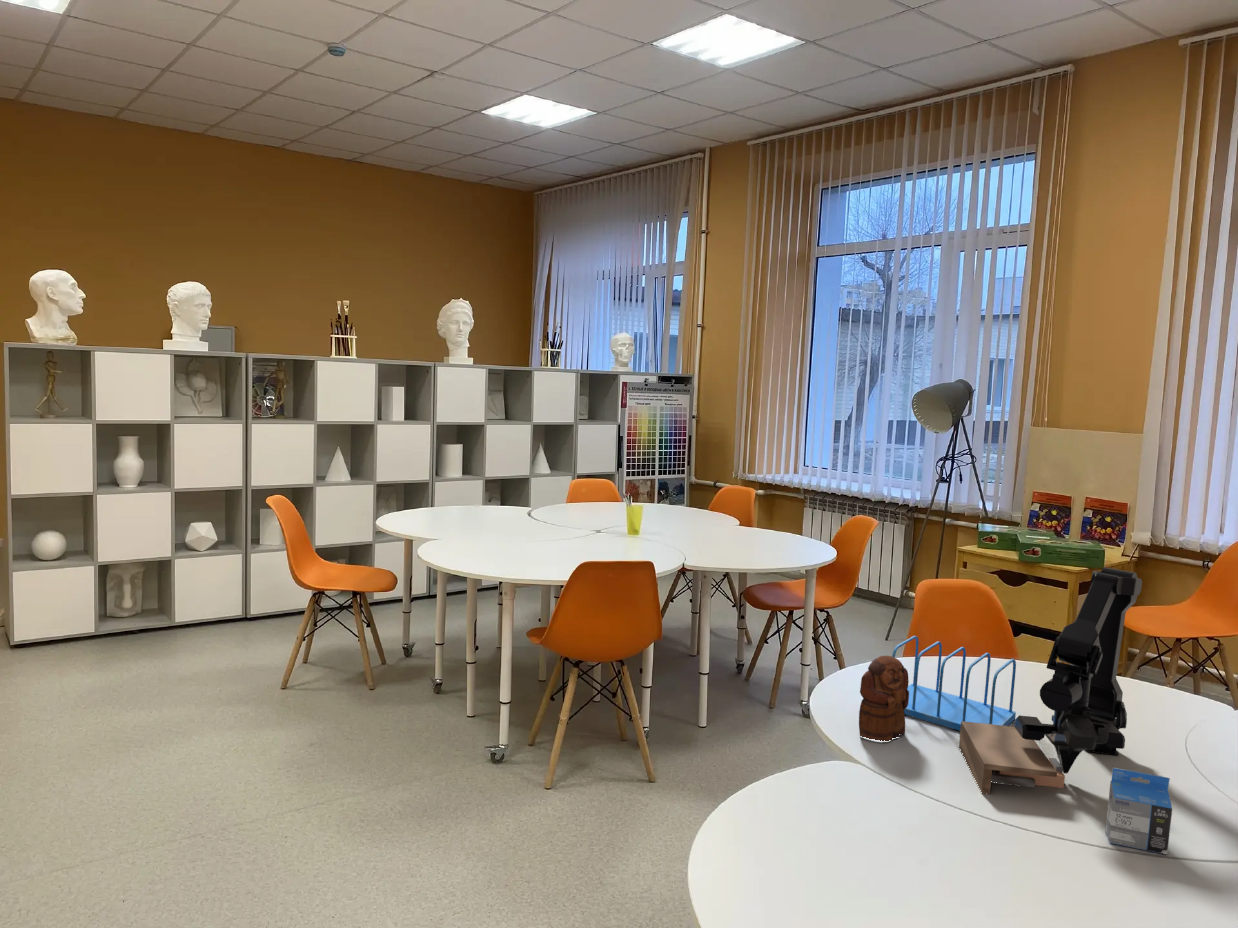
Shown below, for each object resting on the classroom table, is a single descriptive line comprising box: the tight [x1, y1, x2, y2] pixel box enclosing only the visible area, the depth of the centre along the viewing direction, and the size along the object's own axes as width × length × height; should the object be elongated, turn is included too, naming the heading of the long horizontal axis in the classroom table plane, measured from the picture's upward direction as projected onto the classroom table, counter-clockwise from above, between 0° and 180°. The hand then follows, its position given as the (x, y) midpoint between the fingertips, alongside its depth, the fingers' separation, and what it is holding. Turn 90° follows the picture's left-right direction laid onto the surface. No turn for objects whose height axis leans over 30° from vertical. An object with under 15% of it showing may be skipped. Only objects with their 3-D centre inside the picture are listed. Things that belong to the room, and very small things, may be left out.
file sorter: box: [891, 635, 1017, 732], centre depth 199 cm, size 25×17×15 cm
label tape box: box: [1105, 767, 1173, 855], centre depth 146 cm, size 9×4×12 cm, turn 68°
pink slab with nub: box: [993, 757, 1066, 789], centre depth 170 cm, size 12×7×4 cm, turn 81°
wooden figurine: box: [858, 655, 910, 741], centre depth 185 cm, size 12×6×18 cm, turn 125°
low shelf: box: [958, 721, 1057, 795], centre depth 171 cm, size 13×20×6 cm, turn 170°
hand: (1064, 772), depth 169 cm, fingers closed
